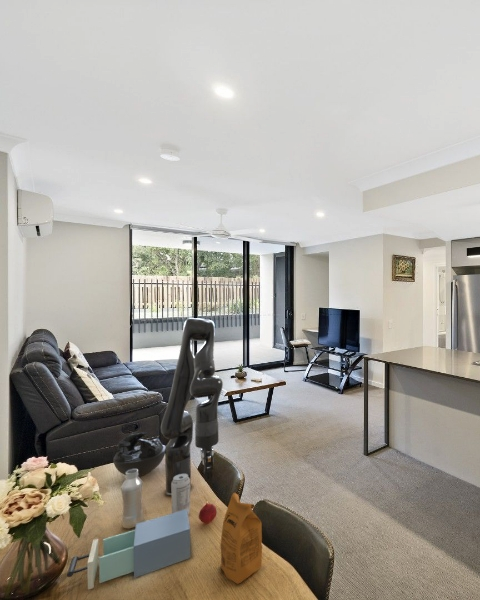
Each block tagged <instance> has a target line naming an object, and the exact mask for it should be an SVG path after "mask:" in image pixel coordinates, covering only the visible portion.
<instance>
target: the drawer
mask: <svg viewBox="0 0 480 600" xmlns="http://www.w3.org/2000/svg"><path fill="white" fill-rule="evenodd" d="M134 537H135V529H132V530H129V531H125V532H122V533H119V534H116V535H115V534H114V535H112V536H108V537H105V538H103V539H102V551H103V552H102V556H99V552H100V551H99V538H94V539H93V540H92V544H91V547H90V551H89V553H88V554H85V555H81V556H78V555H77V556H73V557H72V558H71V560H70V563H69V566H68V568H67V569H68V570H67V573H66V577H67V578H71V577H73V576H74V575H75V574H78V573H80V572H83V571H87V591H89V590H91V589H94V587H95V582H96V578H97V573H99V575H98V576H99V579H98V580H99V584H102V583H105V582H107V581H110V580H113V579H116V578H120V577H122V576H125V575H127V574H130V573H131V574H132V573H134ZM87 558H88V559H87ZM84 559H87V564H86V565H87V566H83V567H81V568H77V569H76V567H77V565H78V561H82V560H84ZM98 567H99V568H98ZM98 569H99V570H98Z"/></svg>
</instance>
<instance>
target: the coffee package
mask: <svg viewBox="0 0 480 600" xmlns="http://www.w3.org/2000/svg"><path fill="white" fill-rule="evenodd" d="M253 509H255V504H254V503H248V502H247V503H246V502H241V500H240V497H239V494H238V493H236V492H233V493H232V495H231V496H230V500H229V502H228V505H227V509H226V512H225V515H224V518H223V521H222V526H221V527H222V529H221V536H220V537H221V538H220V545H219V546H220V547H219V548H220V569H221V570H222V571H223V573H224V575H225V576H226V578H227V579H228V580H229V581H232V582H234V583H235V584H237V585H238V584H241V583H242V582H244V581H245V580H246V579H248V578H249V577H250V576H251V575H253V574H254V573H257V571H259V570H260V568H262V566H263V563H262V562H263V561H262V558H263V542H262V541H263V533H262V531H263V530H262V527H263V522H262V521H261V519H260V518H259V516H257V515H256V513H254V510H253Z"/></svg>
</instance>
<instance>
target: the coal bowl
mask: <svg viewBox="0 0 480 600" xmlns="http://www.w3.org/2000/svg"><path fill="white" fill-rule="evenodd" d="M148 434H149V433H148V432H143V431H142V432H138V433H137V432H135V433H131V434H129V435H128V436H125V437H123V438H122V439H121V440H120V441H118V443H117V451H116V454H115V455H114V456H113V459H112V461H113V465H114V467H115V469H116V470H117V472H119V473H120V474H122V475H123V476H126V472H127V471H129V470H132V469H138V477H141V476H144V475H147V474H149V473H151V472H152V471H154V470H155V469H156V468H157V467H159V465H161V463H162V462H163V460H164V459H165V447H166V445H164V444H163V443H162V442H161V440H160V438H159V437H156V438H153V439H151V440H150V439H149V440H148V439H143V437H144V436H146V435H148ZM138 443H139V445H137V444H138ZM136 445H137V446H136Z"/></svg>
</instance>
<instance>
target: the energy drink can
mask: <svg viewBox="0 0 480 600" xmlns="http://www.w3.org/2000/svg"><path fill="white" fill-rule="evenodd" d="M171 492H172V496H171V514H172V513H176V512H179V511H182V510H186V509H187V510H188V515H189V514H190V512H191V488H190V478H189V477H188V474H179V475H176V476H175V477H174V478H173V481H172V483H171Z"/></svg>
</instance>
